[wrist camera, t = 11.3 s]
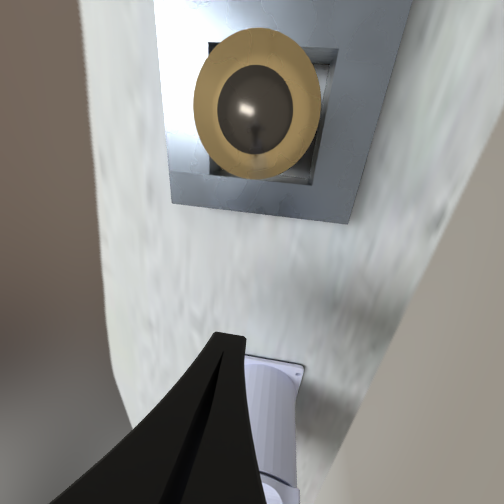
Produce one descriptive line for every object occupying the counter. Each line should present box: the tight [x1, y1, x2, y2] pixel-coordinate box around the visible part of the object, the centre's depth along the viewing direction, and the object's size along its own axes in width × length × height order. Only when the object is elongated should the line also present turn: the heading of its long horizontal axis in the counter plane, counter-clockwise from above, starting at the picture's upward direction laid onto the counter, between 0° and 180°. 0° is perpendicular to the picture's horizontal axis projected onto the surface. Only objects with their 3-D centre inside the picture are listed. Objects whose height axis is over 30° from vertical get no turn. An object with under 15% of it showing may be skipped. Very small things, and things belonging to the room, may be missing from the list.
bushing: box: [193, 28, 321, 180], centre depth 11 cm, size 4×4×7 cm
